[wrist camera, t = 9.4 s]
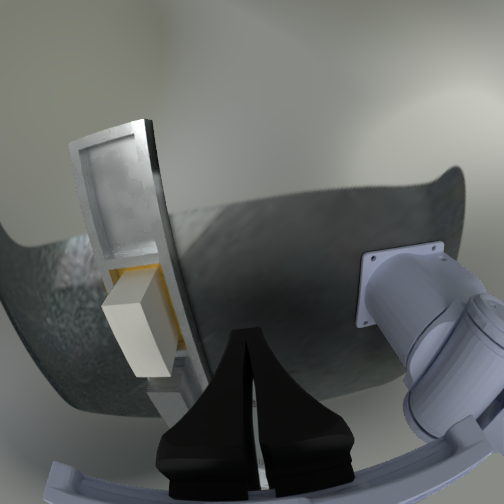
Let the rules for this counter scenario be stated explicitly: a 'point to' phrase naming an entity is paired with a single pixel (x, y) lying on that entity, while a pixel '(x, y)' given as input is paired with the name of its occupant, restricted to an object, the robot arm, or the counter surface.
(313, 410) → the robot arm
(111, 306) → the tall white prism
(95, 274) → the counter surface
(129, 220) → the tray
